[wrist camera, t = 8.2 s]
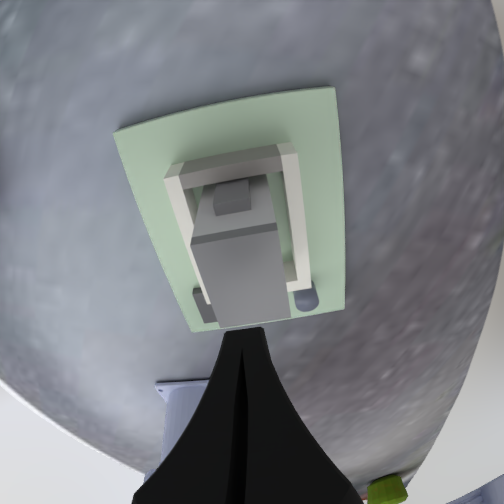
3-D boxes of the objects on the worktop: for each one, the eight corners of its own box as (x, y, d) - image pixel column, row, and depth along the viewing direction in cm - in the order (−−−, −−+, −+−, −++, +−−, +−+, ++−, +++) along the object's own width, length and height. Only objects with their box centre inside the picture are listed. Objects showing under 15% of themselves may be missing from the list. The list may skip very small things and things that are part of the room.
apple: (376, 475, 67) (383, 509, 58) (410, 468, 69) (417, 499, 59) (357, 486, 74) (362, 516, 65) (389, 480, 76) (395, 508, 66)
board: (341, 301, 24) (350, 328, 22) (192, 325, 25) (189, 352, 23) (330, 85, 15) (347, 92, 13) (117, 129, 16) (98, 143, 14)
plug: (278, 247, 20) (291, 317, 15) (223, 256, 20) (220, 328, 15) (264, 162, 17) (275, 216, 12) (201, 175, 17) (185, 233, 12)
